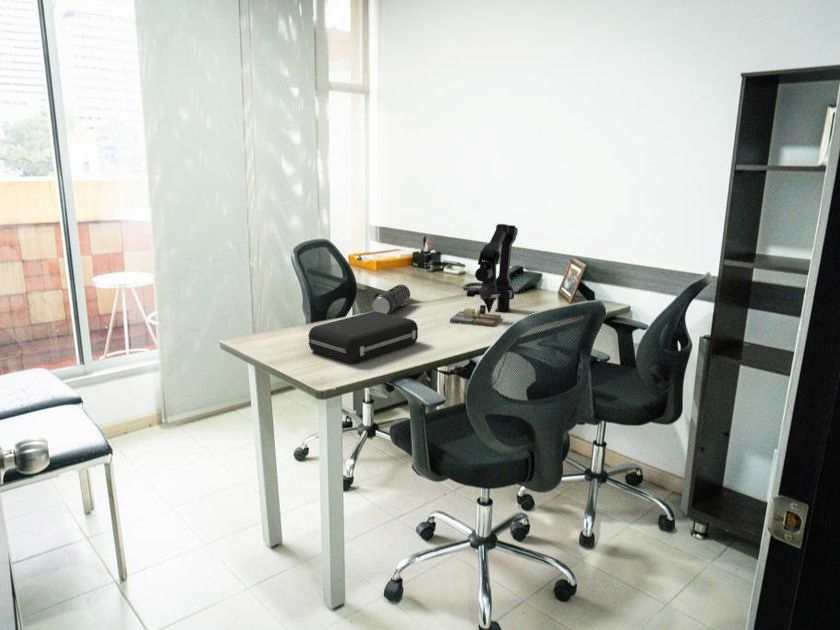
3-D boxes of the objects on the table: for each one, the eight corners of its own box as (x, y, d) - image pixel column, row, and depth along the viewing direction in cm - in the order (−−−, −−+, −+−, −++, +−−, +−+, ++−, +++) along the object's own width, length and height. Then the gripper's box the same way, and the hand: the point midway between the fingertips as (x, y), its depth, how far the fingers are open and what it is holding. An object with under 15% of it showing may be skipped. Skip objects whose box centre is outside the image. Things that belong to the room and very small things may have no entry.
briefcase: (364, 329, 259) (363, 306, 257) (421, 344, 239) (422, 319, 237) (294, 349, 232) (293, 323, 230) (352, 367, 212) (352, 339, 210)
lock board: (459, 314, 283) (459, 311, 282) (500, 318, 277) (500, 315, 276) (449, 322, 269) (449, 319, 269) (492, 326, 263) (493, 323, 263)
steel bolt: (467, 315, 275) (468, 303, 274) (485, 316, 272) (486, 305, 271) (466, 316, 273) (466, 304, 271) (484, 318, 270) (484, 306, 269)
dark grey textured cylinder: (410, 305, 300) (410, 284, 297) (391, 319, 274) (391, 296, 271) (392, 304, 302) (392, 283, 300) (370, 317, 276) (370, 295, 274)
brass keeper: (465, 315, 276) (466, 308, 275) (480, 316, 274) (480, 309, 273) (463, 317, 272) (463, 310, 272) (478, 318, 270) (478, 311, 269)
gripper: (463, 279, 262) (463, 315, 266) (507, 281, 256) (506, 318, 260) (470, 275, 272) (470, 309, 276) (512, 277, 266) (511, 312, 270)
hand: (489, 312), depth 270 cm, fingers closed
